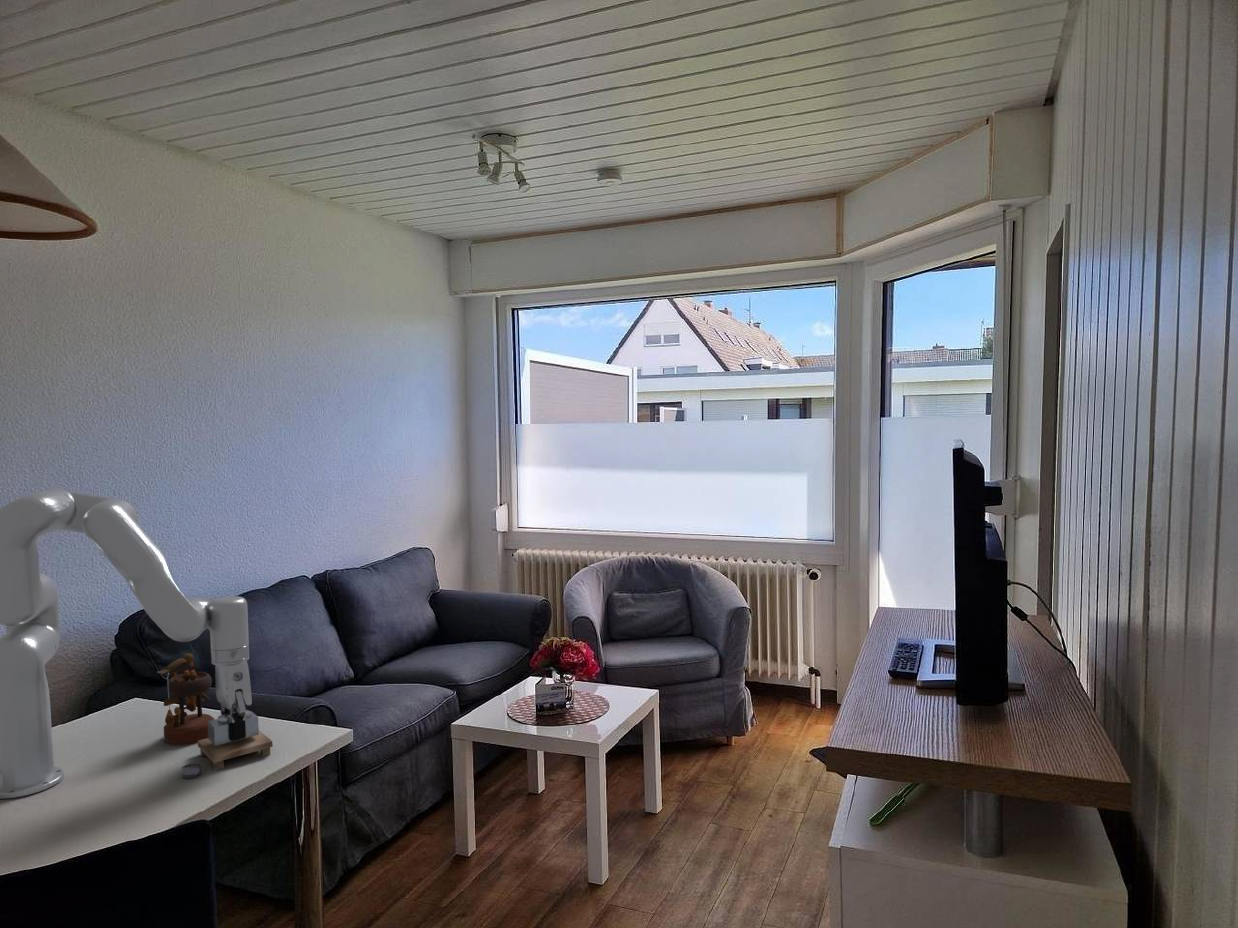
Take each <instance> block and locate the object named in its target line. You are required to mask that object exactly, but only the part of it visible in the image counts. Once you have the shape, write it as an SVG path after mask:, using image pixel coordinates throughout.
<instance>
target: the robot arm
mask: <svg viewBox="0 0 1238 928" xmlns="http://www.w3.org/2000/svg"><path fill="white" fill-rule="evenodd" d="M137 514H138V513H137V512H136V509H135V508H134V506H133V505H131V504H130V503H129V502H127V501H125V500H122V499H119V498H114V497H108V496H102V495H101V496H100V495H94V494H90V493H89V494H88V493H82V492H77V491H71V490H63V489H46V490H42V491H37V492H36V491H35V492H33V493H30V494H26V495H23V496H20V497H19V498H16V499H14V500H12V501H10V502H8V503H7V504H4V505H3V506H2V507H1V508H0V625H1V626H5V634H4V635H2V636H1V637H0V799H5V800H6V799H13V798H20V797H25V796H29V795H33V794H37V793H39V792H42V791H45V790H47V789H49V788H52V787H53V786H55V785H57V784H59V783H60V782H61V781H62V780H63V779H64V769H63V768H61V767H58V766H55V765H54V762H55V761H54V747H53V746H54V744H53V728H52V714H51V699H50V698H51V697H50V688H49V682H48V679H47V673H46V667H45V666H46V664H47V663H48V662H49V661H50V660H51V659H53V657H54V656H55V654H57V651H58V649H59V647H60V642H61V641H60V640H61V632H60V631H61V628H60V626H61V625H60V611H59V610H60V609H59V597H58V596H59V595H58V589H57V588H56V585H55V583H54V581H53V580H52V579H51V578H50V577H49V576H48V575H46V574H45V573H43V572H41V571H40V556H39V555H40V554H39V551H38V547H37V541H38V539H39V537H42V536H44V535H45V534H50V533H52V532H55V531H57V530H59V531H67V532H72V533H73V532H74V533H82V534H85V536H87V538H88V539H89V540H90V542H92V544H93V545H94V546H95V547H96V548H97V549H98V550H99V552H100V553H102V555H103V556H104V558H106V559H107V560H108V561H109V563H110V564H111V565H112V566H113V567H114V568H115V569H116V571H117V572H118V573H119V574H120V575H121V576H122V578H123V579H124V580H125V582H126V583H127V585H128V587H129V589H130V590H131V592H132V593H133V595H134V596H135V598H136V600H137V601H138V603H139V604H140V606H141V607H142V609H143V610H144V611H145V613H146V614H147V616H149V618H150V620H152V621H153V622H154V623H155V624H156V626H157V627H158V628H160V629H161V631H162V632H163V633H164V634H165V635H166V636H167V637H169V638H170V639H172V640H173V641H176V642H178V643H179V642H180V643H187V642H191V641H193V640H196V639H197V638H198V637H200V636H201V634H202V633H203V632H204V631H205V630H209V633H210V635H209V636H210V658H211V659H210V661H211V664H212V665H214V666H215V668H214V669H215V675H214V678H215V680H214V681H215V695H216V697H215V698H216V699H217V702H219V703H220V715H223V714H230V721H231V722H230V723H229V738H230V741H235V740H239V739H242V738H245V737H246V726H245V712H246V710H247V708H246V706H248V707H250V706H251V705H252V687H251V686H252V685H251V679H250V669H249V665H248V660H249V659H250V643H249V642H250V641H249V639H250V638H249V637H250V635H249V618H248V617H249V615H248V613H249V612H248V609H249V608H248V601H247V600H246V598H244V597H243V596H237V595H235V596H233V595H231V596H229V595H228V596H221V597H218V598H213V597H212V598H208V597H188V598H187V596H185V595H184V593H183V592H182V591H181V590H180V588H179V587H178V586H177V584H176V583H175V581H174V579H173V577H172V575H171V572H170V570H169V566H168V565H169V564H168V561H167V558H166V556H165V554H164V553H163V551H162V550H161V549H160V548H159V547H158V546H157V544H155V542H154V541H153V540H152V539H151V538H150V537H149V535H148V534H147V533H146V532H145V531H144V530H143V529H142V528H141V526H140V525H139V524H138V515H137Z"/></svg>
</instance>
